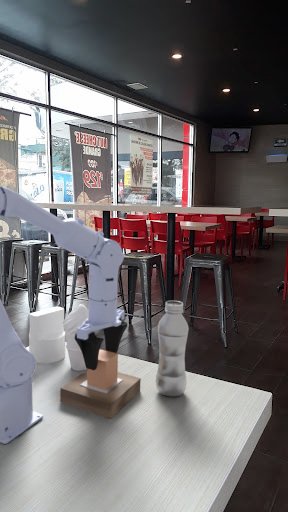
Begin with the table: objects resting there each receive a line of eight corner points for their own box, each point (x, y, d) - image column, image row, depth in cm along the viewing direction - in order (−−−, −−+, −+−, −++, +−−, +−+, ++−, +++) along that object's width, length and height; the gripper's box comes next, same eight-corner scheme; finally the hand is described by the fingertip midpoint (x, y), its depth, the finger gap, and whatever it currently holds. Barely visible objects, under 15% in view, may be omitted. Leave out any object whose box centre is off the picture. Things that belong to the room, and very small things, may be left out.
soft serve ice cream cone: (59, 362, 99) (58, 300, 96) (91, 357, 102) (92, 297, 99) (67, 377, 91) (67, 310, 88) (102, 371, 95) (103, 306, 92)
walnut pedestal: (110, 418, 75) (111, 403, 75) (60, 401, 81) (60, 387, 80) (140, 391, 86) (140, 377, 85) (93, 377, 91) (93, 364, 91)
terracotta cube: (105, 389, 80) (106, 361, 79) (87, 384, 82) (87, 356, 81) (117, 380, 84) (117, 353, 83) (99, 375, 86) (99, 349, 85)
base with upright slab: (50, 346, 109) (50, 303, 107) (72, 355, 103) (72, 311, 101) (22, 356, 102) (21, 311, 100) (43, 366, 96) (43, 319, 94)
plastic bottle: (175, 404, 81) (180, 309, 78) (148, 393, 85) (152, 303, 82) (191, 392, 86) (196, 302, 83) (165, 382, 90) (169, 296, 87)
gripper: (99, 309, 72) (98, 380, 74) (137, 292, 84) (135, 353, 87) (68, 303, 75) (67, 371, 77) (109, 288, 87) (107, 346, 90)
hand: (101, 361), depth 82 cm, fingers open, 7 cm apart
